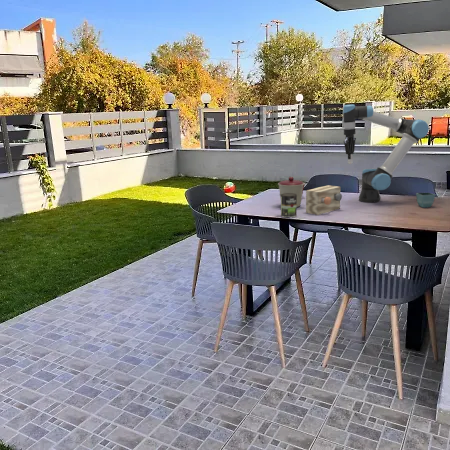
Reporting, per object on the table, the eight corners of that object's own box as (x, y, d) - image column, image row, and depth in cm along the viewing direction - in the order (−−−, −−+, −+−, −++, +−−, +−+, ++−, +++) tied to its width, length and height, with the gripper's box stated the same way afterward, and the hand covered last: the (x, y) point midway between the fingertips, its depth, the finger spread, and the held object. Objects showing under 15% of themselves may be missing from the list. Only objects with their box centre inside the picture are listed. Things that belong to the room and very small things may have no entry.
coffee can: (299, 216, 290) (299, 195, 286) (284, 218, 287) (284, 196, 284) (292, 213, 299) (292, 192, 296) (278, 215, 297) (278, 193, 293)
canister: (273, 207, 320) (272, 177, 314) (287, 202, 332) (287, 174, 327) (294, 210, 308) (294, 179, 302) (309, 205, 320) (309, 176, 315)
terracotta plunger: (311, 202, 298) (311, 195, 297) (316, 201, 301) (316, 194, 300) (326, 205, 289) (326, 197, 288) (331, 204, 293) (331, 196, 291)
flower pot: (414, 205, 308) (415, 192, 306) (427, 205, 309) (428, 192, 307) (421, 208, 300) (422, 195, 298) (434, 207, 300) (435, 194, 298)
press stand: (305, 212, 300) (306, 190, 296) (327, 206, 315) (328, 185, 312) (318, 215, 293) (318, 192, 289) (339, 208, 308) (340, 186, 304)
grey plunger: (322, 199, 308) (322, 192, 307) (326, 198, 311) (326, 191, 310) (337, 201, 300) (337, 194, 298) (341, 200, 303) (341, 193, 301)
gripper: (349, 127, 309) (350, 161, 316) (339, 129, 301) (340, 165, 307) (359, 127, 304) (360, 162, 311) (349, 129, 296) (350, 165, 302)
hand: (350, 163), depth 309 cm, fingers closed
